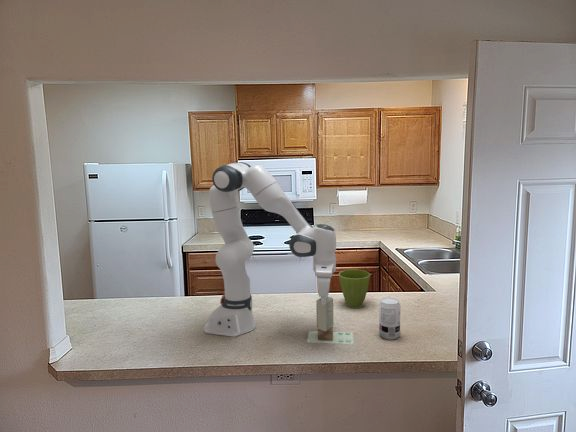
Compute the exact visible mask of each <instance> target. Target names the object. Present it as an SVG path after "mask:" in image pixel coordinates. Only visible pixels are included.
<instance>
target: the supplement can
mask: <svg viewBox="0 0 576 432" xmlns="http://www.w3.org/2000/svg"><path fill="white" fill-rule="evenodd" d="M378 321H379V324H378V327H379V329H378V330H379V331H378V333H379V336H380V337H381V338H383V339H386V340H390V339H391V340H396V339H398V338H399V337H400V335H401V303H400V301H399V299H397V298H393V297H383V298H381V299H380V302H379V320H378Z"/></svg>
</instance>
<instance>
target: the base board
mask: <svg viewBox="0 0 576 432" xmlns="http://www.w3.org/2000/svg"><path fill="white" fill-rule="evenodd" d="M307 343H314V344H343V345H344V344H345V345H346V344H348V345H353V344H354V334H353V331H341V330H339V331H333V341H327V340H318V330H308V335H307Z"/></svg>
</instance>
